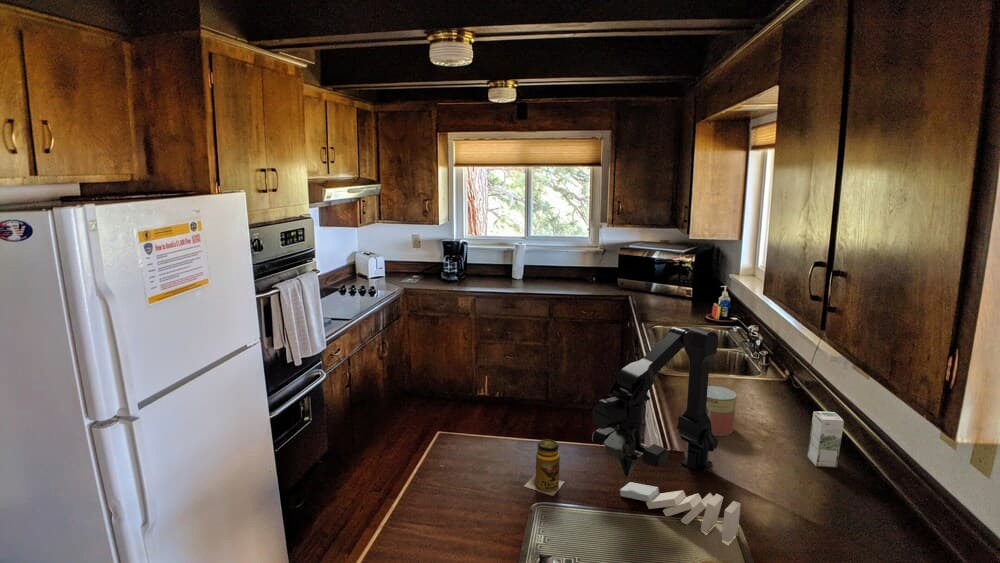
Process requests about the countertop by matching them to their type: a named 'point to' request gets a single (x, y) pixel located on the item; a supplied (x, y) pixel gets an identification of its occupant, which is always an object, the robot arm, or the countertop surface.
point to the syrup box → (825, 439)
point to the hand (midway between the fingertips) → (627, 476)
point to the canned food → (721, 409)
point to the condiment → (546, 468)
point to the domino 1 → (639, 491)
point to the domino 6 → (731, 521)
